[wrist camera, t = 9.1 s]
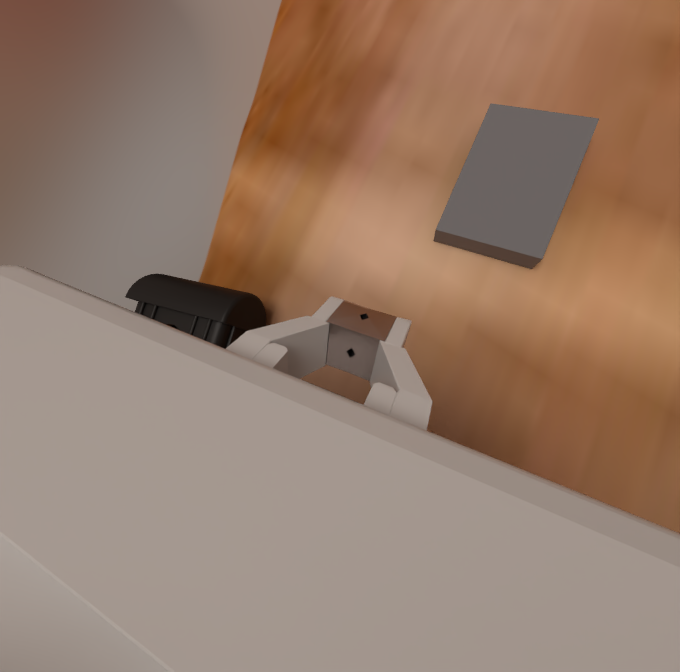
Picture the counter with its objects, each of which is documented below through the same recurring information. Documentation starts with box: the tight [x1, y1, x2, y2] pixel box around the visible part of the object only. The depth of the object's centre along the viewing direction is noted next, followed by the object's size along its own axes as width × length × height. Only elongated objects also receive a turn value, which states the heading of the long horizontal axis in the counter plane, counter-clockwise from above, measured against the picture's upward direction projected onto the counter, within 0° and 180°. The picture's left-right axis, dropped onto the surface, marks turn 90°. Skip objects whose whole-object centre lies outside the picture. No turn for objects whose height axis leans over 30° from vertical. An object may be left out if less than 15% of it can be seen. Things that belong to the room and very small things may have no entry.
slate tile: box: [434, 104, 599, 269], centre depth 23 cm, size 2×8×12 cm
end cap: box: [126, 274, 266, 349], centre depth 25 cm, size 10×7×7 cm
